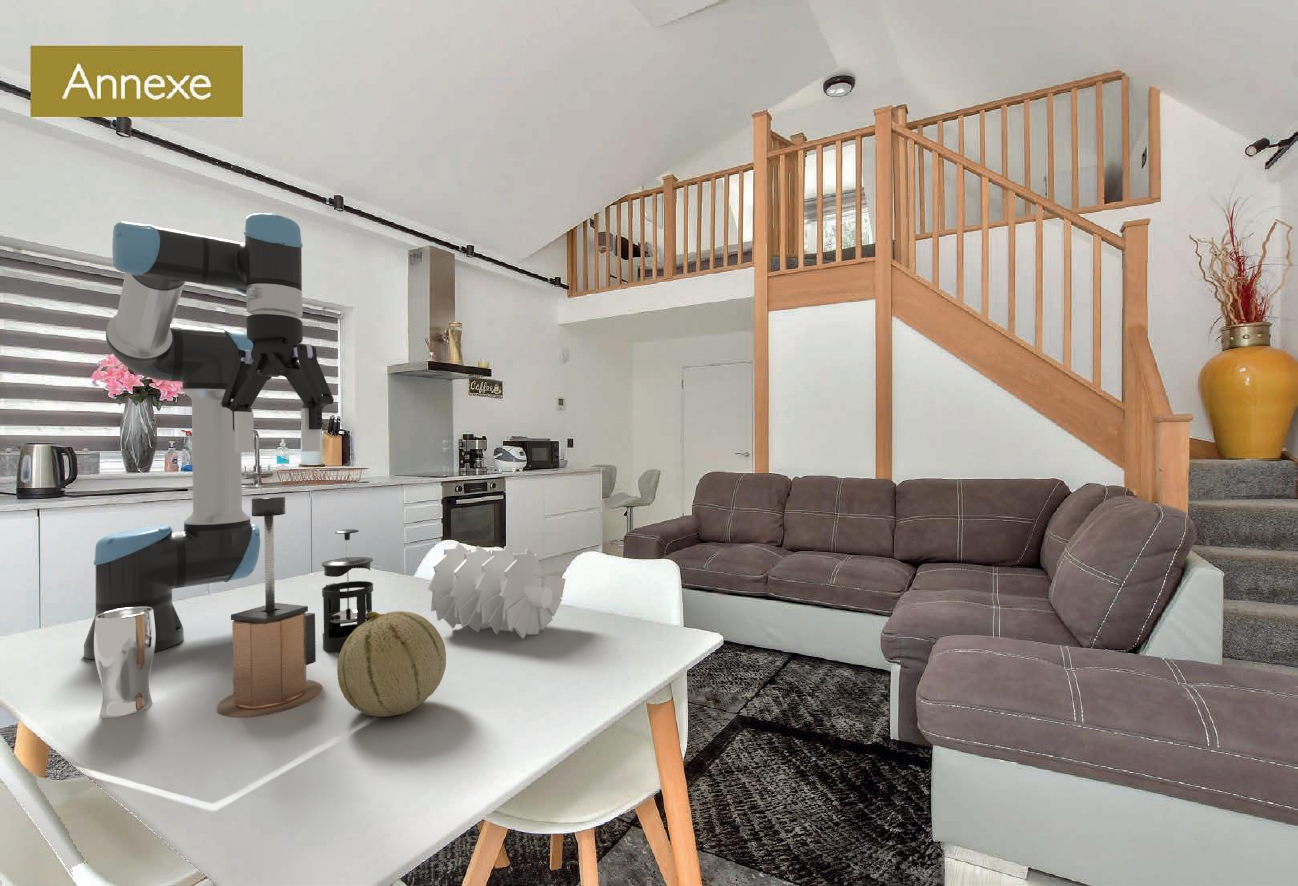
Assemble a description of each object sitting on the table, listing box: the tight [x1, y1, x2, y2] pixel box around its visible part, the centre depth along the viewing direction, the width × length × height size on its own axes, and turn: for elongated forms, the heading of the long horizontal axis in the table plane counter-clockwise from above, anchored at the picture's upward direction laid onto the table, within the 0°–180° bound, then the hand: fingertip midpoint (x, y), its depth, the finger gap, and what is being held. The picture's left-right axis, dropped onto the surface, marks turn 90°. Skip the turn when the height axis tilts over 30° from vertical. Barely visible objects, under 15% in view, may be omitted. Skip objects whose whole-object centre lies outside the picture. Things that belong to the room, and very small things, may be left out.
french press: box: [321, 528, 374, 654], centre depth 119 cm, size 12×9×23 cm
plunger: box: [251, 496, 286, 613], centre depth 94 cm, size 6×6×21 cm
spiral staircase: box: [428, 543, 566, 640], centre depth 128 cm, size 18×18×25 cm
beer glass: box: [94, 607, 156, 719], centre depth 91 cm, size 7×7×15 cm
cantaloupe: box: [336, 610, 447, 718], centre depth 90 cm, size 15×15×15 cm
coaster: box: [215, 679, 324, 719], centre depth 94 cm, size 14×14×1 cm
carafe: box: [230, 602, 317, 710], centre depth 95 cm, size 9×12×13 cm
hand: (277, 452), depth 96 cm, fingers open, 13 cm apart
